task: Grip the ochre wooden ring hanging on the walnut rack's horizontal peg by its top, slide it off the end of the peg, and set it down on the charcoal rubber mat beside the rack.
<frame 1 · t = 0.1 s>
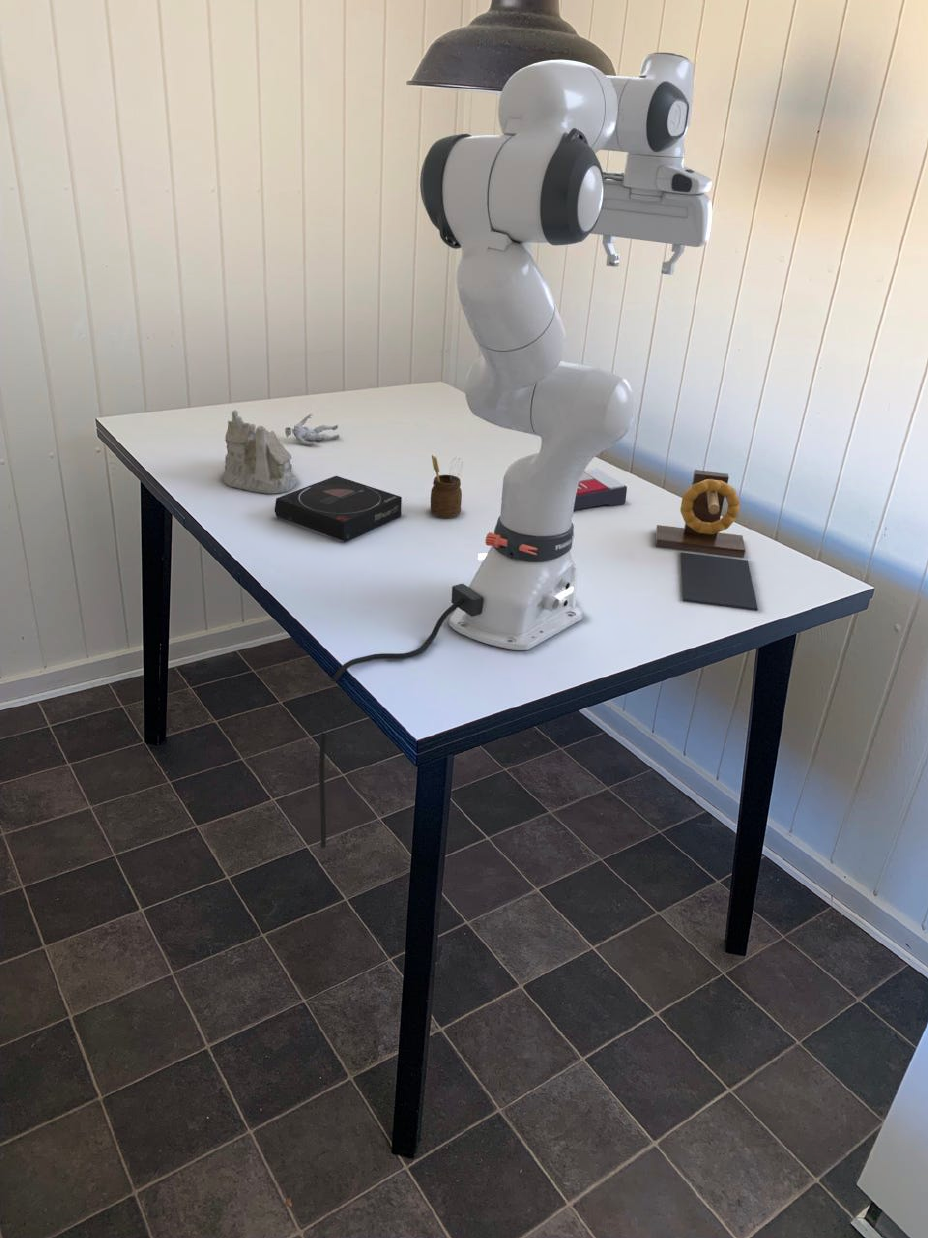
hand: (639, 269, 154), 48 cm above the table, tool pointing down, fingers open, 8 cm apart
ring: (710, 506, 169), point 10 cm above the table, touching rack
rack: (698, 541, 180), on the table
soldier figure: (313, 441, 218), on the table
utensil holder: (444, 514, 185), on the table
portable cd player: (338, 517, 180), on the table
ceramic cottage: (264, 479, 196), on the table
mat: (716, 580, 165), on the table
calculator: (580, 499, 196), on the table
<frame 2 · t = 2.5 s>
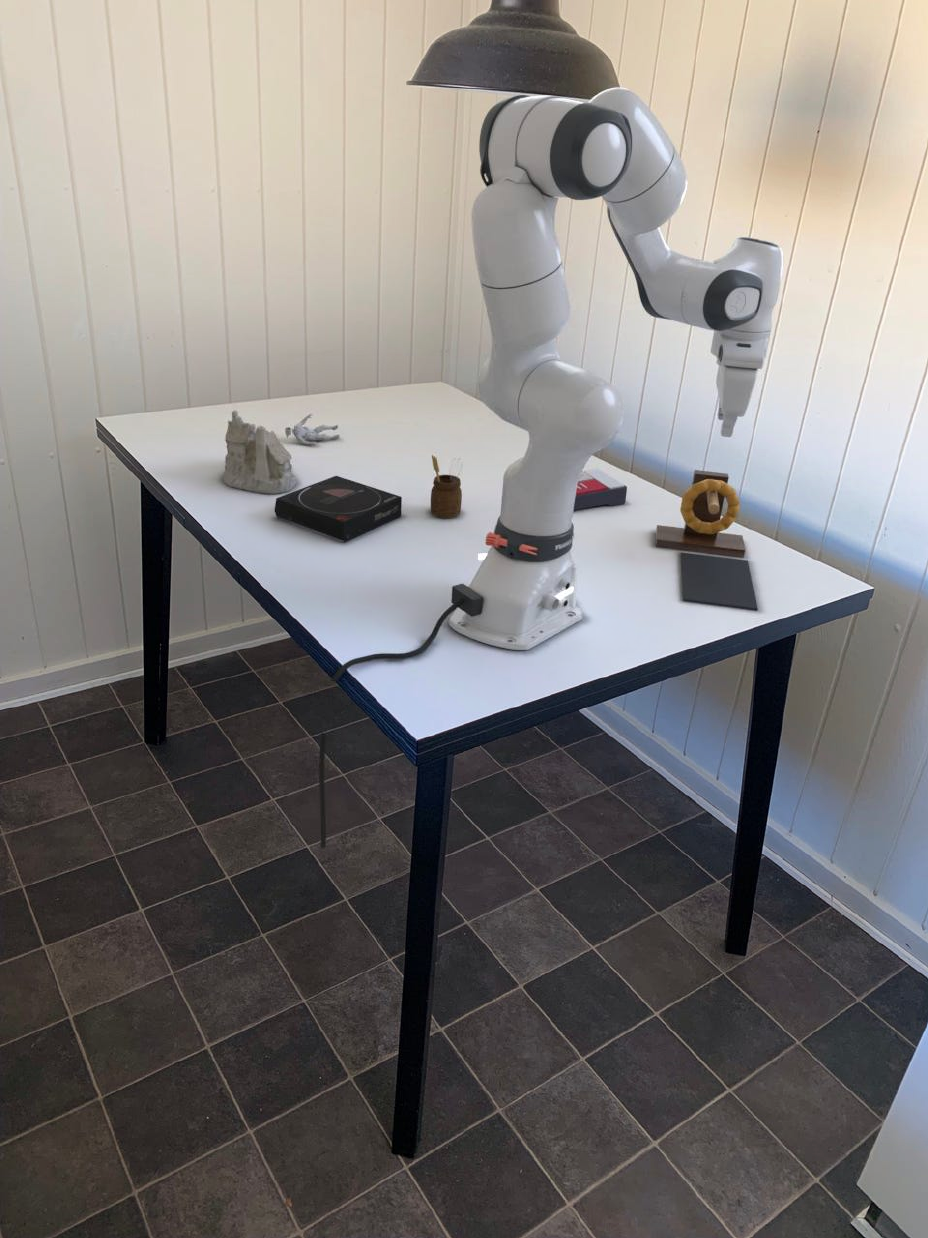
hand: (724, 427, 162), 24 cm above the table, tool pointing down, fingers open, 8 cm apart
nothing on the table moved.
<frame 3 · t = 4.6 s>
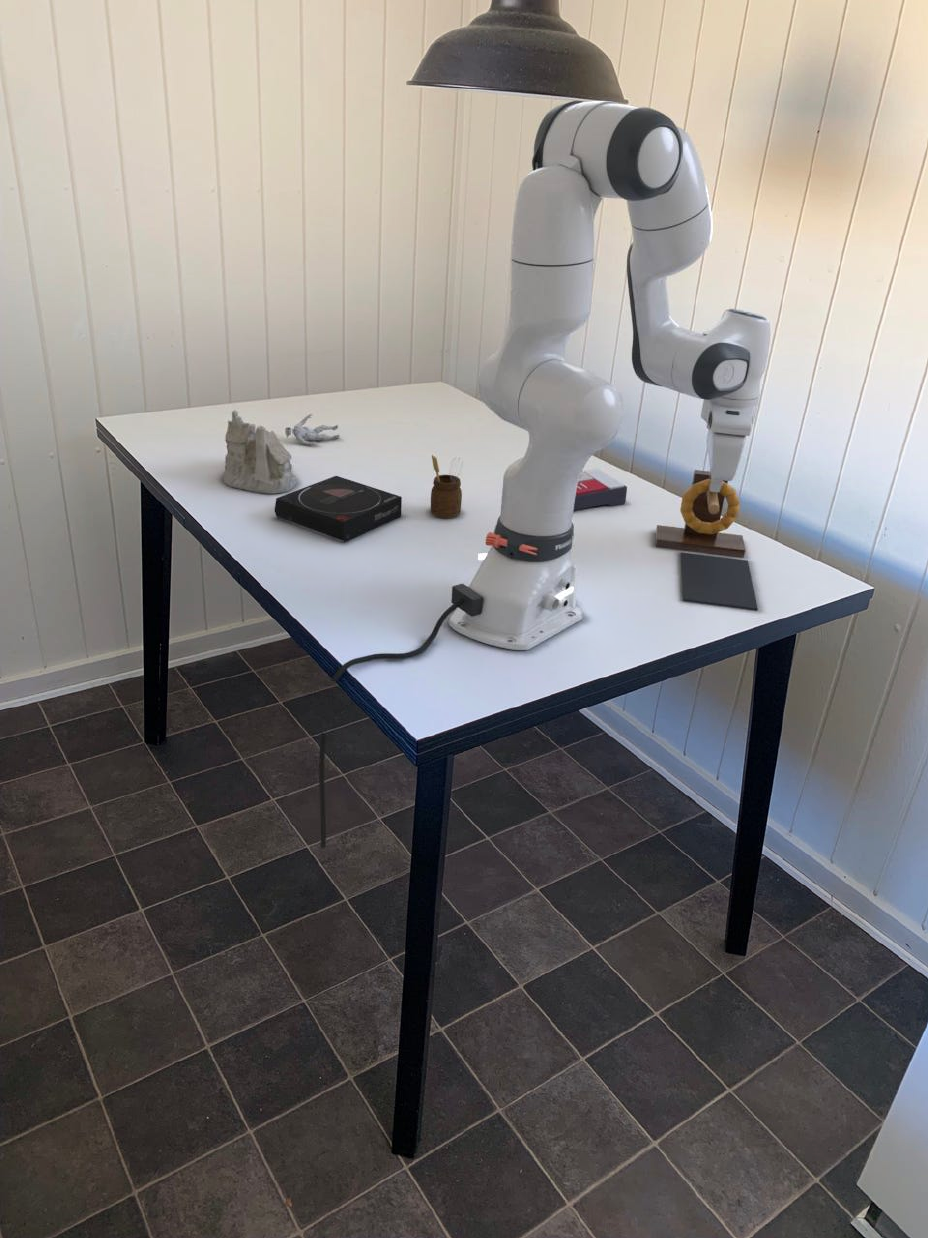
hand: (713, 487, 167), 14 cm above the table, tool pointing down, fingers closed on ring, 2 cm apart
ring: (710, 506, 169), point 10 cm above the table, touching gripper, rack
everything else where it was.
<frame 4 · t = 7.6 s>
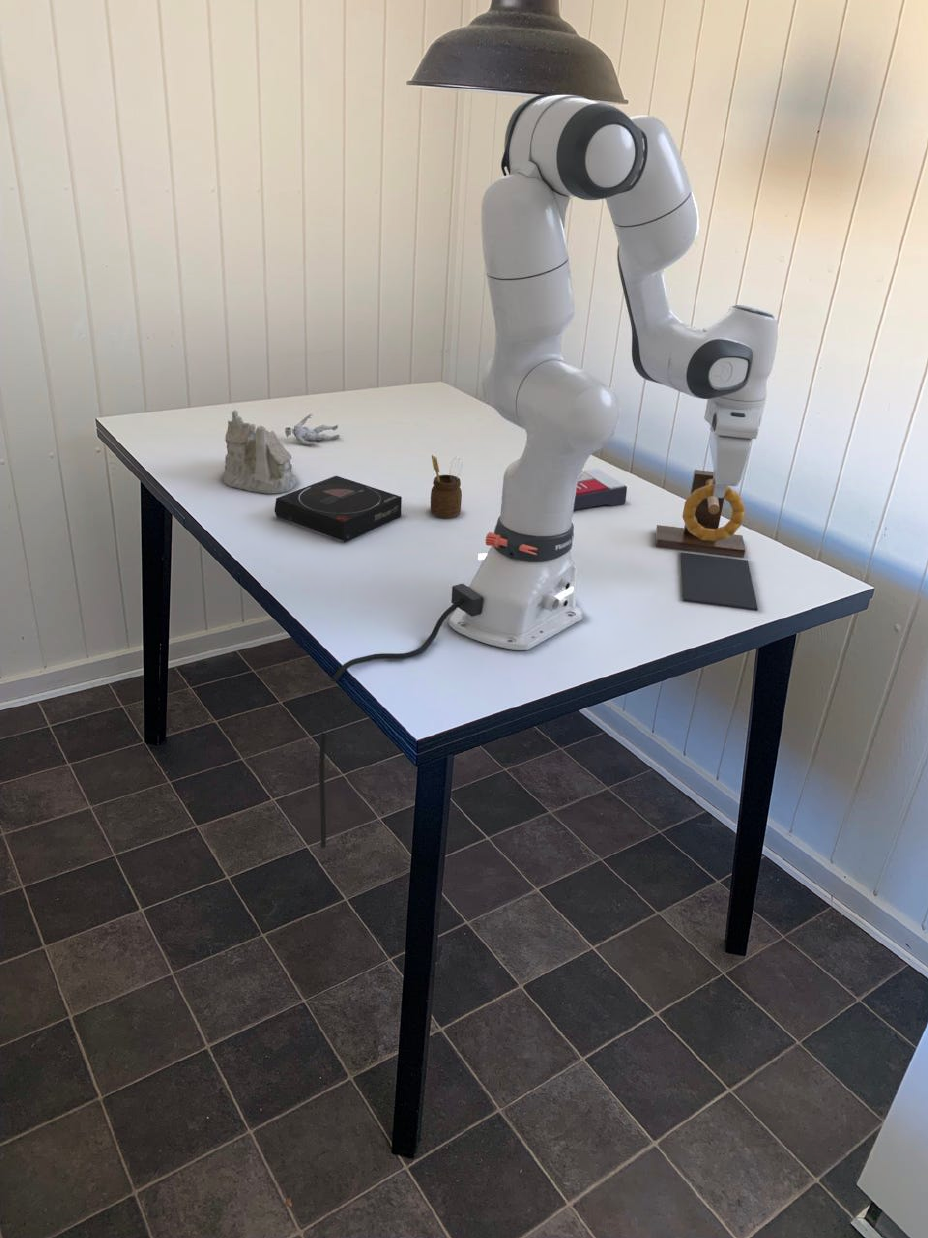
hand: (717, 492, 159), 15 cm above the table, tool pointing down, fingers closed on ring, 2 cm apart
ring: (713, 512, 161), point 12 cm above the table, touching gripper
everything else where it was.
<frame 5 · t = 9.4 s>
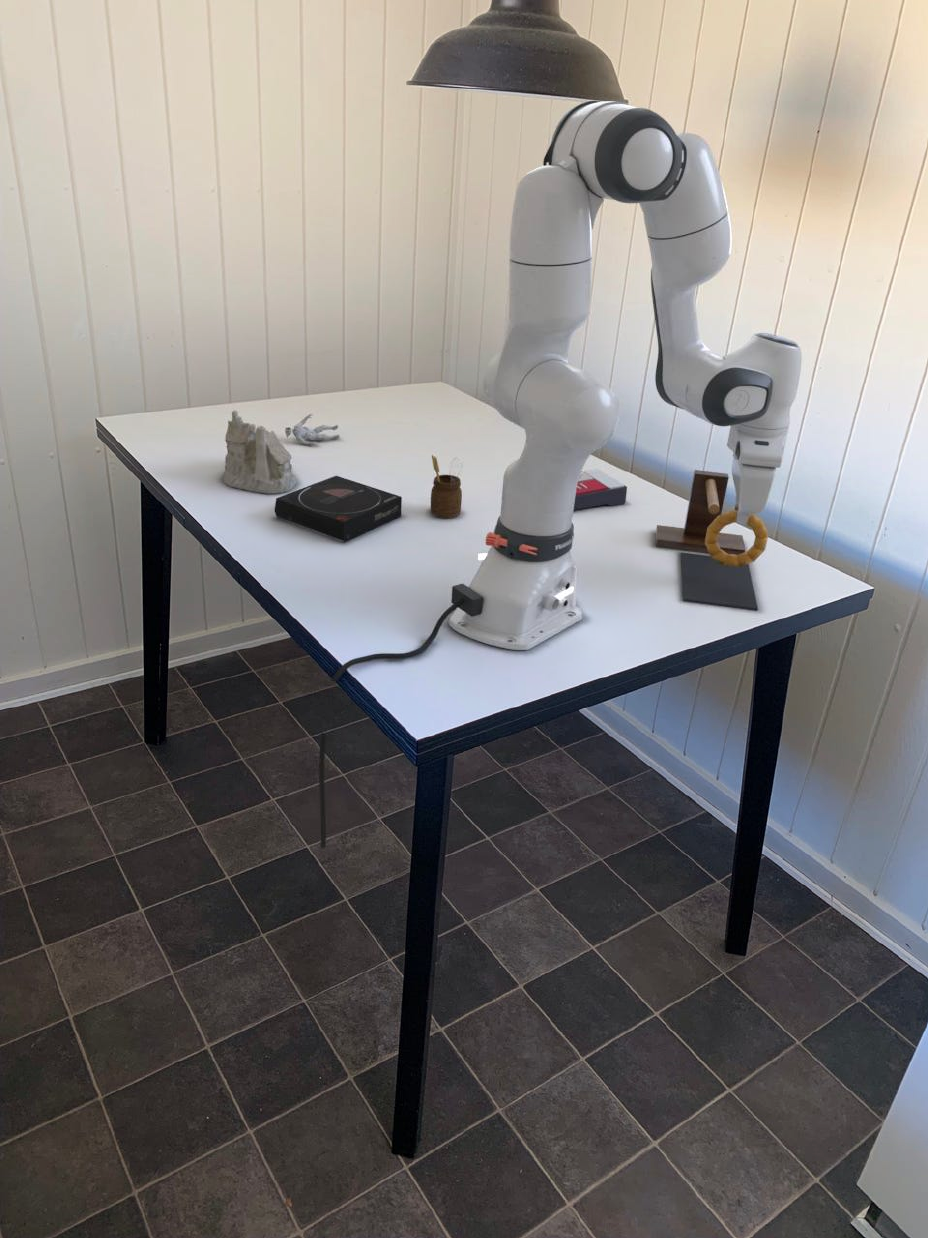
hand: (740, 518, 159), 12 cm above the table, tool pointing down, fingers closed on ring, 2 cm apart
ring: (736, 538, 161), point 8 cm above the table, touching gripper
everything else where it was.
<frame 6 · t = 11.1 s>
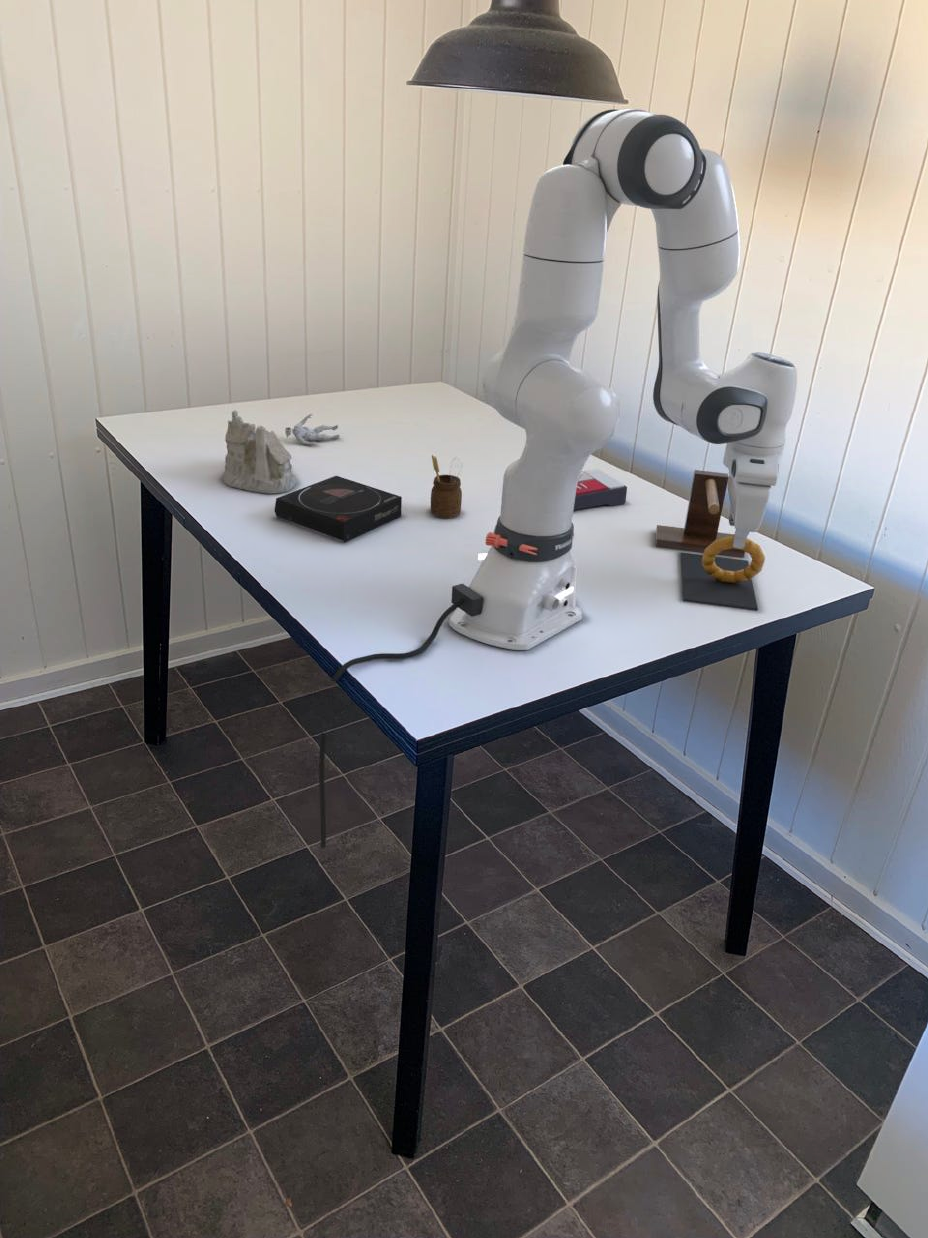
hand: (735, 535, 160), 9 cm above the table, tool pointing down, fingers open, 8 cm apart
ring: (732, 560, 161), point 5 cm above the table, tilted 20°, touching gripper, mat
everything else where it was.
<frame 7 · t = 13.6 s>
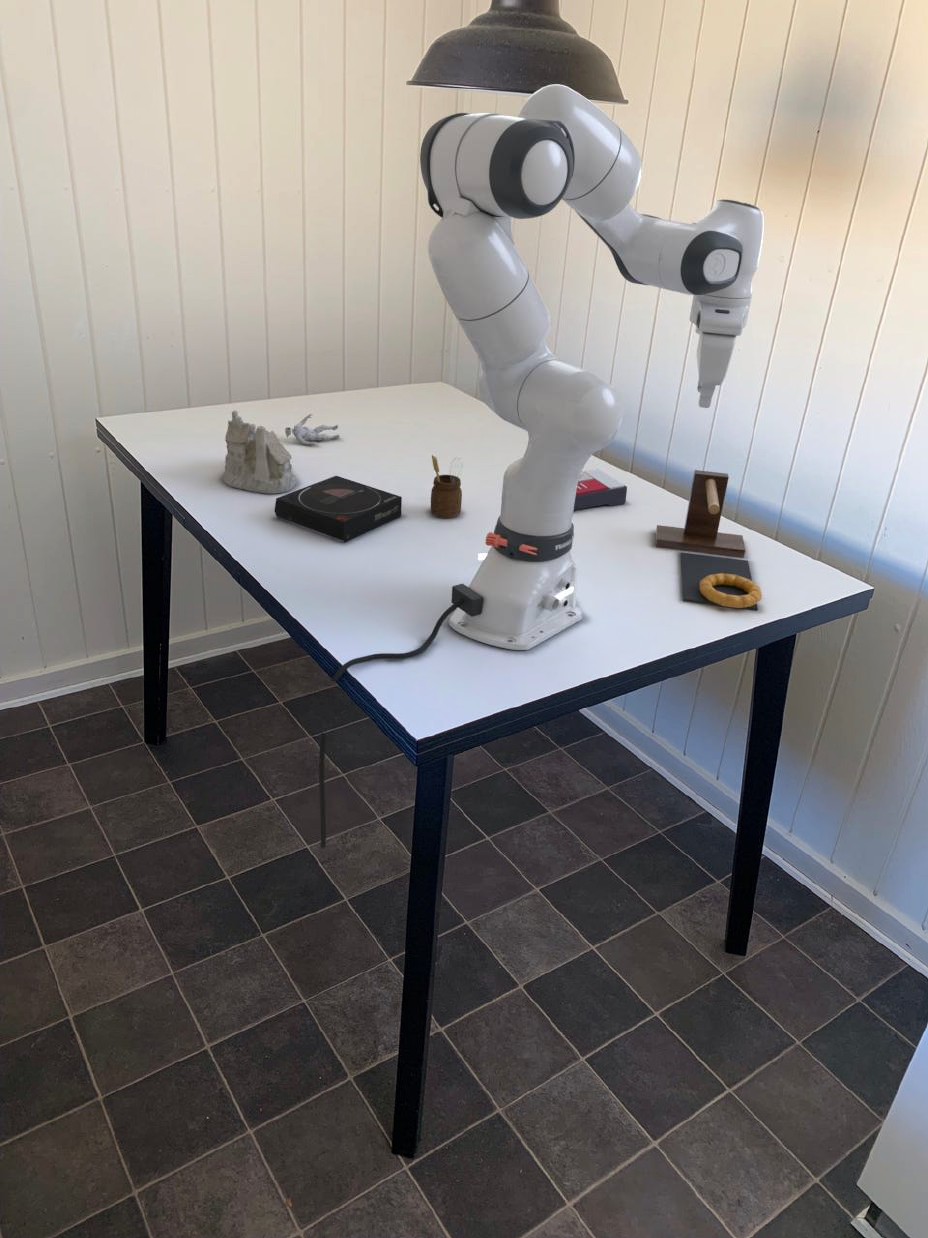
hand: (703, 398, 157), 30 cm above the table, tool pointing down, fingers open, 8 cm apart
ring: (730, 590, 159), point 1 cm above the table, tilted 90°, touching mat
everything else where it was.
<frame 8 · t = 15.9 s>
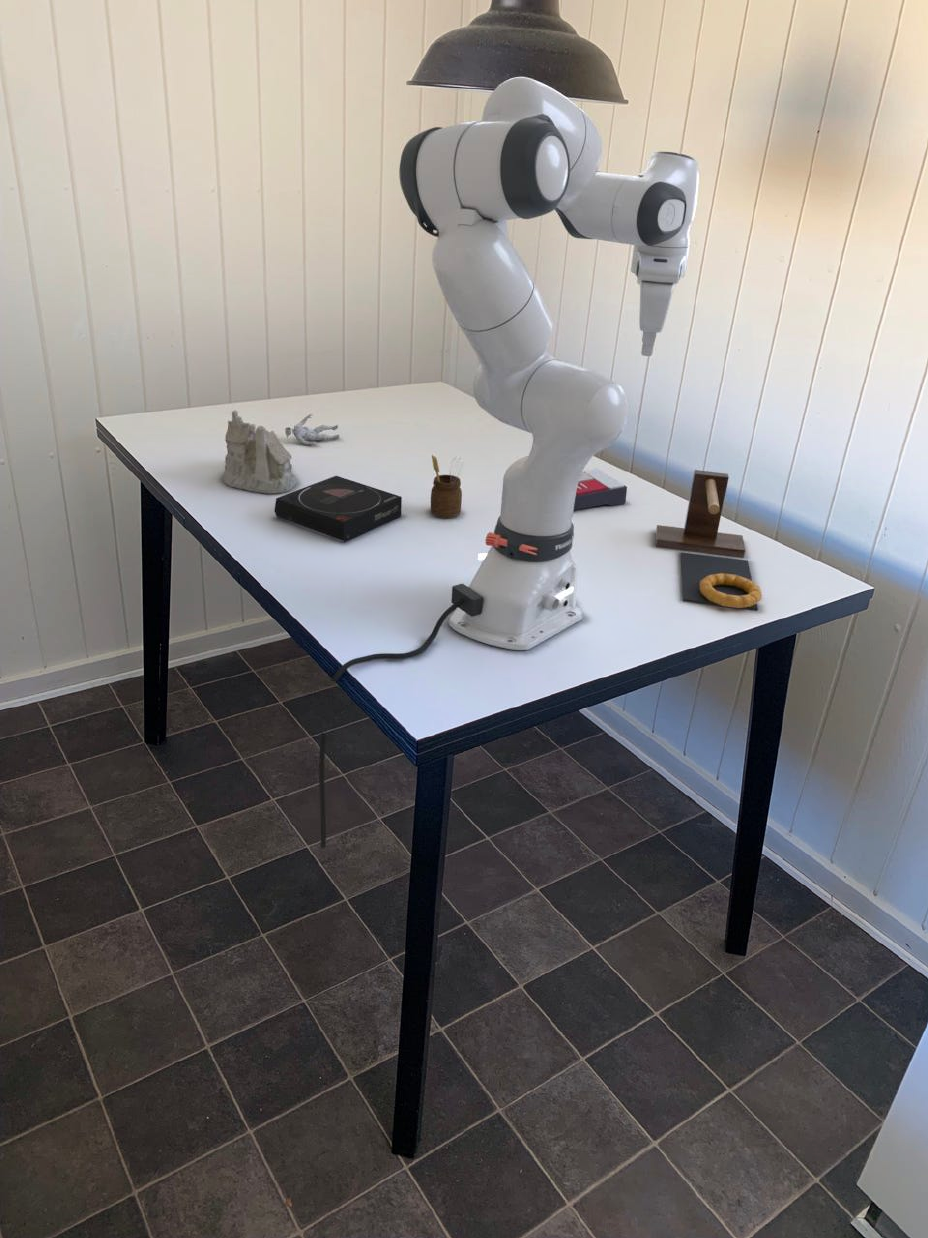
hand: (646, 348, 162), 35 cm above the table, tool pointing down, fingers open, 8 cm apart
nothing on the table moved.
at the end: ring touching mat; ring inside the target area on the mat (5.9 cm from its centre), point 1.4 cm above the mat's base; the gripper is holding nothing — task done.
